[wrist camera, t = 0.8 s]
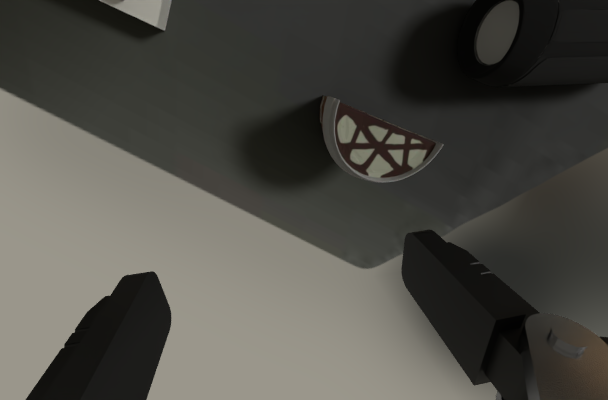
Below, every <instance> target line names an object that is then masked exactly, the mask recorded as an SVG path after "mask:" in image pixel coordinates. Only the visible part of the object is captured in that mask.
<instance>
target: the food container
mask: <svg viewBox="0 0 608 400" xmlns="http://www.w3.org/2000/svg"><path fill="white" fill-rule="evenodd" d="M319 119H320V123H321V126H322V130H323V135H324V140H325V143H326V146H327V149H328V151H329V153H330V155H331V157H332V158H333V159H334V161H335V162H336V164H337V165H339V166H340V167H341V168H342V169H343V170H344V171H346V172H347V173H349V174H350V175H353V176H355V177H357V178H360V179H363V180H366V181H370V182H379V183H382V182H393V181H397V180H401V179H404V178H406V177H409V176H411V175H413V174H415V173H416V172H418V171H420V170H421V169H422V168H424V167H425V166H426V165H427V164H428V163H429V162H430V161H432V160H433V158H434V157H435V156H436V155H437V154H438V152H439V151H440V149H441V148H442V146H443V145H444V144H442V143H439V142H437V141H434V140H432V139H429V138H426V137H424V136H421V135H418V134H416V133H413V132H411V131H408V130H405V129H403V128H400V127H398V126H396V125H393V124H390V123H388V122H386V121H384V120H381V119H379V118H377V117H374V116H371V115H369V114H367V113H366V112H362V111H361V110H357V109H355V108H353V107H351V106H348V105H345V104H343V103H341V102H340V100H338V99H335V98H333V97H330V96H322V100H321V103H320V117H319Z"/></svg>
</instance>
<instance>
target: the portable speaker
mask: <svg viewBox="0 0 608 400" xmlns="http://www.w3.org/2000/svg"><path fill="white" fill-rule="evenodd" d="M457 54H458V61H459V64H460V67H461V69H462V71H463V72H464V73H465V74H466V75H467V76H468V77H470V78H472V79H474V80H477V81H479V82H481V83H483V84H486V85H488V86H493V87H516V86H540V85H565V84H589V83H608V0H476V1H475V3H474V4H473V5H472V7H471V9H470V10H469V12H468V14H467V16H466V18H465V20H464V23H463V25H462V28H461V31H460V35H459V40H458V53H457Z"/></svg>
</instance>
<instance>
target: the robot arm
mask: <svg viewBox="0 0 608 400" xmlns="http://www.w3.org/2000/svg"><path fill="white" fill-rule="evenodd" d="M402 277H403V281H404V283H405V286H406V288H407V289H408V291H409V292H410V294H411V295H412V297H413V298H414V300H415V301H416V302H417V304H418V305H419V306H420V308H421V310H422V311H423V312H424V314H425V315H426V317H427V318H428V319H429V321H430V323H431V324H432V325H433V327H434V328H435V330H436V331H437V333H438V334H439V336H440V337H441V338H442V340H443V341H444V343H445V344H446V346H447V347H448V349H449V350H450V351H451V353H452V354H453V356H454V357H455V359H456V360H457V362H458V363H459V364H460V366H461V367H462V369H463V370H464V371H465V373H466V374H467V376H468V377H469V378H470V380H471V382H472V383H473V385H478V384H483V383H487V382H491V383H492V384H493V385H494V386H495V388H496V389H497V390H498V391H497V394H496V400H608V337H599V336H597V335H596V334H595V333H594V332H592V331H591V330H589V329H588V328H586V327H584V326H583V325H581V324H579V323H577V322H575V321H573V320H570V319H568V318H565V317H562V316H559V315H554V314H548V313H539V312H538V311H537V310H536V309H534V308H533V307H532V306H531V305H530V304H528V303H527V302H526V301H525V300H524V299H522V297H520V296H519V295H518V294H517V293H516V292H515V291H513V290H512V289H511V288H510V287H509V286H507V285H506V284H505V283H504V282H503V281H501V280H500V279H499V278H498V277H497V276H496V275H495V274H491V272H490V270H489V269H488V268H486V267H485V266H484V265H483V264H480V263H479V261H478V260H477V259H475V258H474V257H473V256H472V255H471V254H470V253H469V252H468V251H466V250H464V249H462V248H460V247H458V246H456V245H454V244H452V243H450V242H448V243H446V242H445V241H444V240H443V239H442V238H441V237H440V236H439V235H438V234H436V233H435V232H434V231H432V230H425V231H418V232H412V233H408V234H407V235H406V237H405V243H404V252H403V261H402ZM170 326H171V311H170V307H169V304H168V302H167V299H166V297H165V294H164V292H163V289H162V287H161V284H160V281H159V279H158V277H157V275H156V273H155V272H146V273H139V274H133V275H126V276H124V277H123V278H122V279H121V280H120V282H119V283H118V285H117V286H116V288H115V289H114V291H113V293H112V294H111V296H105V297H104V298H103V299H102V300H100V301H99V302H98V303H97V304H96V305H95V306H94V307H92V308H91V309H90V310H89V311H88V312H87V313H86V315H85V316H84V317H83V319H82V320H81V322H80V323H79V324H78V326H77V327H76V329H75V333H72V335H71V336H70V337H69V339H68V340H67V342H66V343H65V347H64V348H62V349H61V350H60V351H59V353H58V355H57V356H56V357H55V359H54V360H53V362H52V363H51V364H50V366H49V367H48V369H47V370H46V371H45V373H44V374H43V376H42V377H41V379H40V380H39V381H38V383H37V384H36V386H35V387H34V388H33V390H32V391H31V393H30V394H29V396H28V397H27V399H26V400H146V399H147V396H148V393H149V390H150V387H151V384H152V381H153V378H154V375H155V372H156V369H157V366H158V363H159V360H160V357H161V354H162V351H163V348H164V345H165V342H166V339H167V336H168V333H169V330H170Z"/></svg>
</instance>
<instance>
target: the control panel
mask: <svg viewBox="0 0 608 400" xmlns="http://www.w3.org/2000/svg"><path fill="white" fill-rule="evenodd" d="M99 1H101V2H103V3H106V4H108V5H110V6H112V7H114V8H116V9H119V10H121V11H123V12H125V13H127V14H129V15H132V16H134V17H136V18H138V19H140V20H142V21H144V22H147V23H149V24H151V25H153V26H155V27H157V28H160V29H162V30H164V31H165V28H166V24H167V19H168V15H169V10H170V5H171V1H172V0H99Z"/></svg>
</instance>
